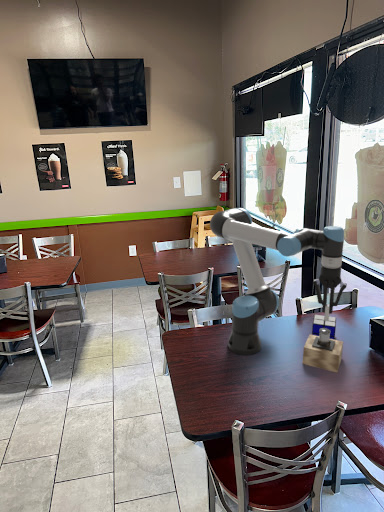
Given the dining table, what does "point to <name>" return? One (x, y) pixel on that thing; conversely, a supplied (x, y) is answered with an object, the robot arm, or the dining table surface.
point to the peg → (324, 337)
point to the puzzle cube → (324, 325)
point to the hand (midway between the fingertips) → (326, 319)
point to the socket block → (322, 354)
